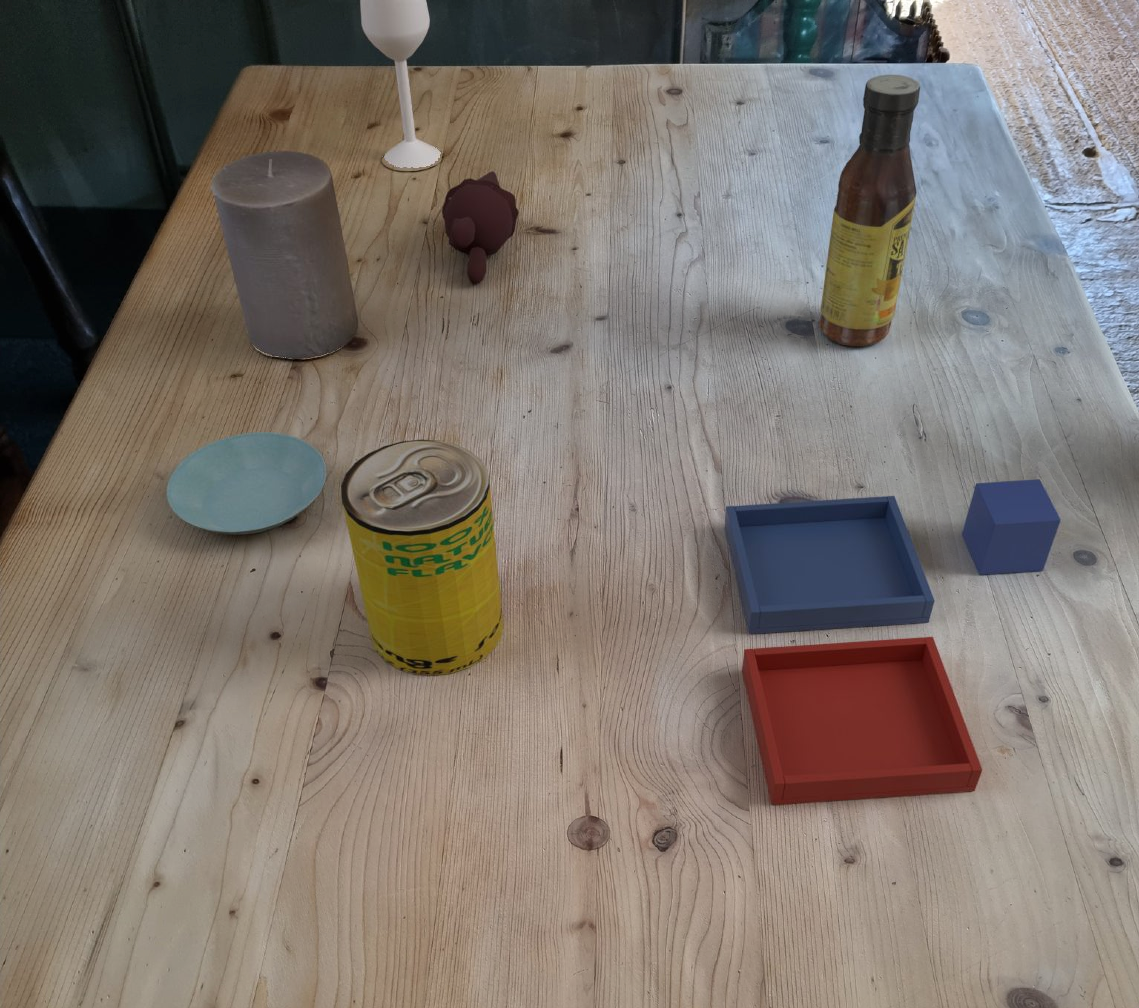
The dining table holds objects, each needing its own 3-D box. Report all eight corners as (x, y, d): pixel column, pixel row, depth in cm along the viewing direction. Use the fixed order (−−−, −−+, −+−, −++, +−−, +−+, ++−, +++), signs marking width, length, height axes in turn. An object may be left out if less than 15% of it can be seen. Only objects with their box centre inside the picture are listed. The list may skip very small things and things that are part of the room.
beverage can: (530, 625, 82) (520, 480, 73) (430, 696, 78) (406, 552, 69) (443, 566, 87) (422, 422, 78) (344, 630, 83) (310, 486, 74)
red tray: (926, 658, 79) (933, 636, 78) (975, 791, 72) (982, 769, 71) (741, 670, 79) (744, 648, 78) (771, 805, 72) (774, 784, 70)
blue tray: (889, 517, 89) (894, 495, 87) (929, 622, 82) (935, 600, 80) (724, 528, 89) (726, 505, 87) (748, 634, 81) (751, 612, 80)
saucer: (326, 548, 88) (321, 523, 87) (163, 559, 88) (154, 534, 86) (335, 451, 96) (330, 427, 94) (185, 461, 96) (177, 437, 94)
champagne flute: (451, 146, 131) (425, -120, 113) (433, 174, 127) (402, -98, 109) (392, 142, 132) (357, -123, 114) (372, 169, 128) (332, -101, 110)
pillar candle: (329, 293, 112) (296, 123, 100) (378, 339, 106) (349, 165, 95) (231, 326, 109) (186, 154, 97) (276, 375, 103) (234, 200, 92)
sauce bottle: (890, 353, 103) (938, 105, 88) (815, 348, 104) (850, 101, 89) (890, 313, 107) (936, 69, 92) (819, 308, 108) (852, 66, 93)
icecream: (444, 146, 117) (412, 235, 108) (516, 129, 114) (490, 218, 106) (469, 213, 122) (441, 303, 113) (539, 198, 120) (515, 288, 111)
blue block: (1023, 530, 88) (1040, 478, 84) (1043, 571, 85) (1061, 519, 81) (961, 533, 87) (975, 482, 84) (979, 575, 85) (994, 524, 81)
